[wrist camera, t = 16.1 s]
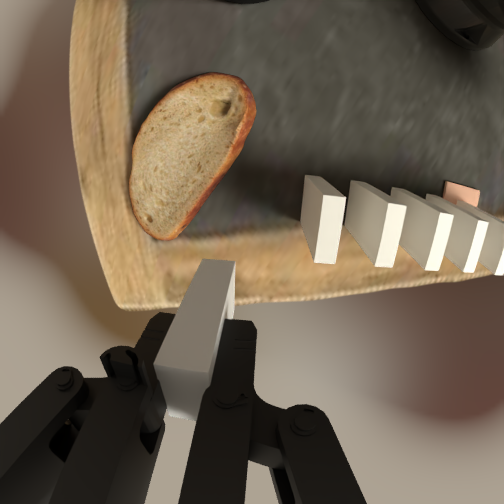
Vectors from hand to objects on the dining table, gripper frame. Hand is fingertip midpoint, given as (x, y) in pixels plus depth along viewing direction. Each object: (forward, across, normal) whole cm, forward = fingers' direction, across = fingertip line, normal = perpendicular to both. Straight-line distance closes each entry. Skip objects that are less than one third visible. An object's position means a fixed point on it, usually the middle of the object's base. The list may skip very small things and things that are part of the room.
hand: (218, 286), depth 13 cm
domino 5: (+19, -29, 0) cm, 35 cm away
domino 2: (+20, -13, 0) cm, 24 cm away
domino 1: (+20, -7, 0) cm, 21 cm away
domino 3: (+20, -18, 0) cm, 27 cm away
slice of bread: (+21, +7, -4) cm, 22 cm away
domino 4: (+20, -24, 0) cm, 31 cm away
